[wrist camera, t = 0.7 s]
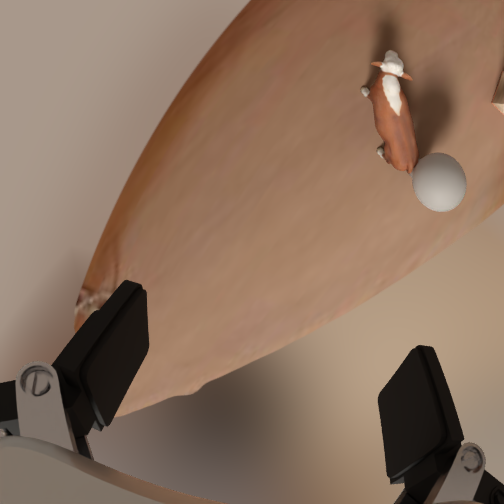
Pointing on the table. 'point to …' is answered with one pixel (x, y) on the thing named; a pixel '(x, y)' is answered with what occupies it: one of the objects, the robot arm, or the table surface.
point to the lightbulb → (439, 182)
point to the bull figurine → (393, 114)
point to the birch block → (499, 95)
